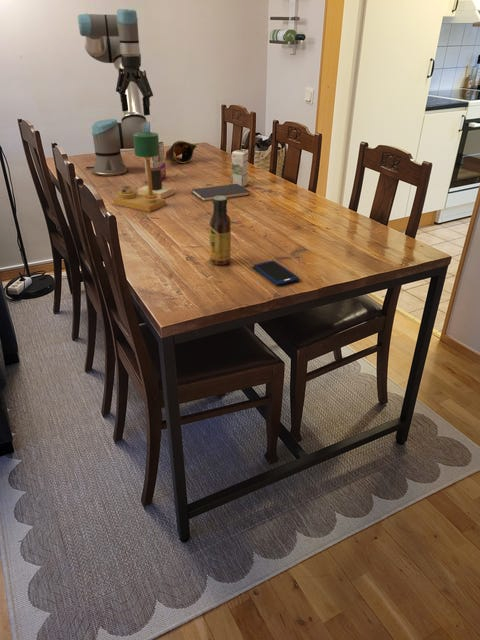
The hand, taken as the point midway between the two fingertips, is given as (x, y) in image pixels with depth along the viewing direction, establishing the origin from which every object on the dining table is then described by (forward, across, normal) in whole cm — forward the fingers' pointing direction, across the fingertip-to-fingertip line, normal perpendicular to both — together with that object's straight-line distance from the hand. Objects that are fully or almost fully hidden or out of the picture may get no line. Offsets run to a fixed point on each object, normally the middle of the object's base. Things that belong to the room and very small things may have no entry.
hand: (135, 113), depth 201 cm
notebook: (+29, -38, -10) cm, 49 cm away
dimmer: (+29, -18, +8) cm, 35 cm away
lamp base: (+28, -23, +21) cm, 42 cm away
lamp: (+24, -29, +20) cm, 43 cm away
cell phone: (+27, -101, +38) cm, 111 cm away
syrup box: (+29, -35, -26) cm, 53 cm away
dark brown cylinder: (+26, -18, +8) cm, 33 cm away
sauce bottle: (+27, -83, +42) cm, 97 cm away
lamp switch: (+25, -17, +22) cm, 38 cm away
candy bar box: (+30, -1, -7) cm, 31 cm away
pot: (+30, +16, -40) cm, 53 cm away
